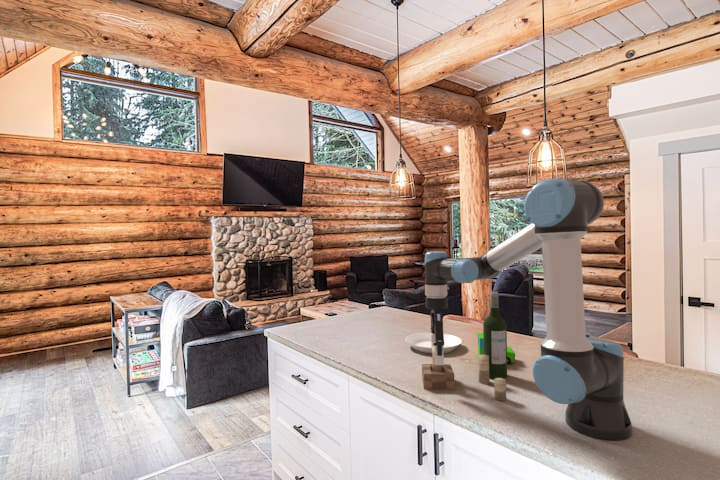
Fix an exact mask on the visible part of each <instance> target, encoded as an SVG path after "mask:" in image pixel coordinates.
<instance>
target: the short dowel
mask: <svg viewBox="0 0 720 480" xmlns="http://www.w3.org/2000/svg"><path fill="white" fill-rule="evenodd" d="M493 380H494V381H493V382H494V400H495V401H498V402H507V379H506V378H505V379H503V378H495V379H493Z"/></svg>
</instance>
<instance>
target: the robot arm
mask: <svg viewBox="0 0 720 480" xmlns="http://www.w3.org/2000/svg"><path fill="white" fill-rule="evenodd" d="M523 204H524V205H523V210H524V215H525V216H526V217H525V218H526V219H527V220H528V221H529V222H530V224H528V225H527V226H525V227H523V228H522V229H520V230H519V231H517V232H515V233H514V234H512V236H510V237H508V238H506V239H505V240H504V241H502V242H501V243H499V244H497V245H496V246H494V247H492V248H491V249H490V250H489V251H487V252H486V253H484V254H482V255H480V256H477V257H476V256H475V257H464V258H463V257H461V258H449V257H448V253H447V252H446V251H441V250H440V251H439V250H438V251H436V250H435V251H427V252H426V253H425V254H424V295H425V296H426V297H424V300H425V301H424V302H425V308H426V309H429V310H431V311H430V315H429V316H430V333H433V334H431V346H432V342H435V343H433V346H435V365H444V364H445V363H444V361H445V360H444V359H445V357H444V356H445V355H444V354H445V353H444V348H443V345H444V335H443V334H444V320H443V319H444V314H443V312H442V310H446V309H448V305H449V304H448V303H449V301H448V298H449V297H448V290H450V287H449V286H448V282H455V283H460V284H473V282H474V281H479V280H480V281H481V280H491V279H494V278H498V277H499V276H500V275H501V274H502V272H504V271H503V270H506V269H507V268H508V267H511V266H512V265H513V264H516V263H518V262H519V261H521V260H523V259H524V258H526V257H527V256H529V255H531V254H533V253H535V252H536V251H538V250H539V249H541V253H542V270H543V271H542V272H543V289H544V291H543V293H544V309H545V324H546V325H545V328H546V337H545V338H544V339H542V341H541V342H540V356H539V357H538V358H537V359H536V361H534V363H533V366H532V376H533V377H532V378H533V381H534V383H535V385H536V386H537V388H538V389H539V390H540V391H541V392H542V394H543V395H544V396H545V397H546V398H548V400H550V401H552V402H554V403H557V404H561V405H567V406H566V409H565V414H564V417H565V423H566V425H568V426H569V427H570V428H571V429H573V430H575V431H576V432H578V433H580V434H582V435H585V436H588V437H592V438H595V439H600V440H607V441H608V440H609V441H619V440H620V441H621V440H625V439H626V440H627V439H628V438H630V437H631V436H632V435H633V425H632V421H631V418H630V415H629V413H628V410H627V407H626V405H625V400H624V369H625V366H624V361H625V360H624V359H625V356H624V349H623V347H622V345H621V344H619V343H618V342H616V341H612V340H609V339H605V338H598V337H593V336H592V337H591V336H587V334H586V318H585V299H584V296H585V295H584V282H583V281H584V280H583V279H584V278H583V263H582V262H583V261H582V244H581V242H582V241H581V240H582V239H583V237H584V236H586V234H588V226H589V225H591V224H592V223H594V222H595V221H596V220H597V219H598V218H600V216H601V214H602V213H603V210H604V205H605V199H604V195H603V193H602V192H601V190H600V189H599V187H597V186H596V185H594V184H593V183H591V182H588V181H584V180H574V179H566V178H562V177H560V178H548V179H547V178H546V179H543V180H541V181H539V182H537V183H536V184H534V185H533V186H532V187H531V189H530V190H529V191H528V192H527V194H526V195H525V198H524V202H523Z"/></svg>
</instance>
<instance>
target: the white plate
mask: <svg viewBox="0 0 720 480" xmlns="http://www.w3.org/2000/svg"><path fill="white" fill-rule="evenodd" d="M431 334H433V333H431V332H419V333H413V334H410V335H408V336H406V337H405V342H406V343H407V344H409V345H410V346H411V347H412V348H413V349H414V350H416V351H417V352H421V353H424V354H425V353H426V354H432V346H431ZM443 335H444V345H443V348H444V354H447V353H450V352H452V351H453V352H454V350H455V349H456V348H457V347H458V346H459V345H461V344H462V342H463V340H462V338H460V337H459V336H456V335H454V334H449V333H443Z"/></svg>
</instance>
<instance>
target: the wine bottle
mask: <svg viewBox="0 0 720 480" xmlns="http://www.w3.org/2000/svg"><path fill="white" fill-rule="evenodd" d="M489 295H490V306H489V307H490V309H489V311H490V312H489V315H488V316H487V317H486V318H485V319H484V321H483V322H482V323H483V324H482V326H483V327H482V328H483V336H484V355H488V356H489V379H491V380H492V379H493V380H494V379H495V378H503V379H505V380H506V379H507V377H508V365H507V347H508V342H507V334H508V333H507V329H508V328H507V325H508V324H507V323H506V320H505V319H504V318H503V317H501V315H500V308H499V307H500V306H499V305H500V304H499V303H500V302H499V292H497V291H491V292H490V294H489Z"/></svg>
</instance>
